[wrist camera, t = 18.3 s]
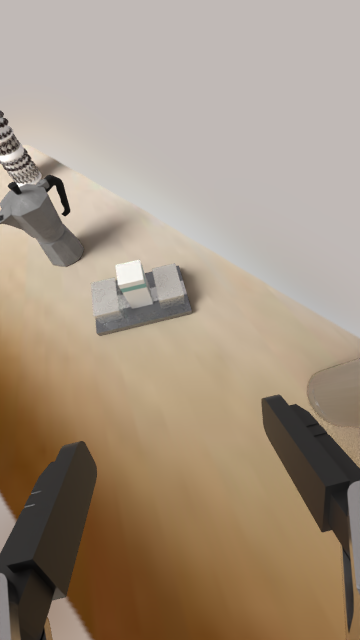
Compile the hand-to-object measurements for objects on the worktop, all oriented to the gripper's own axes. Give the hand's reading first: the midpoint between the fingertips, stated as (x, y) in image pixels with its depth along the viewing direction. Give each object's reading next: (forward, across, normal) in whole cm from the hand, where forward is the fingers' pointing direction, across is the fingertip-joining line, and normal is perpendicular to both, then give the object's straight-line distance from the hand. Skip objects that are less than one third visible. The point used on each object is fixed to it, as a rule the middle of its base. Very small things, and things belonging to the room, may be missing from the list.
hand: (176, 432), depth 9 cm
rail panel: (+39, +5, +3) cm, 40 cm away
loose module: (+38, +5, +2) cm, 38 cm away
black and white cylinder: (+78, +35, -35) cm, 92 cm away
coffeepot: (+53, +22, -11) cm, 58 cm away
